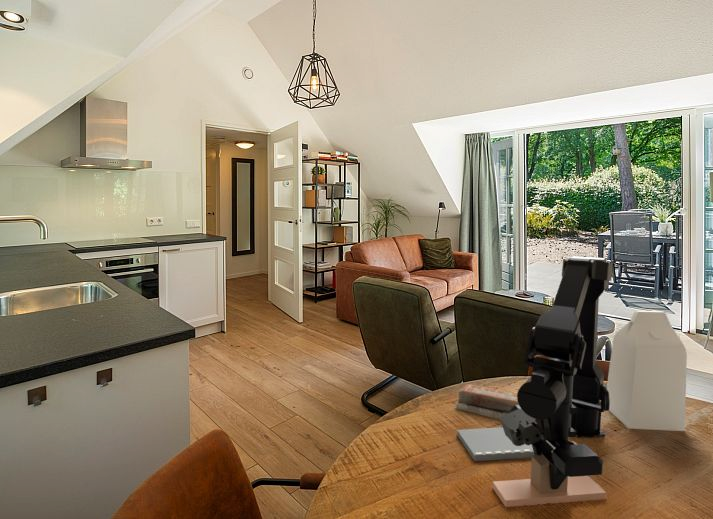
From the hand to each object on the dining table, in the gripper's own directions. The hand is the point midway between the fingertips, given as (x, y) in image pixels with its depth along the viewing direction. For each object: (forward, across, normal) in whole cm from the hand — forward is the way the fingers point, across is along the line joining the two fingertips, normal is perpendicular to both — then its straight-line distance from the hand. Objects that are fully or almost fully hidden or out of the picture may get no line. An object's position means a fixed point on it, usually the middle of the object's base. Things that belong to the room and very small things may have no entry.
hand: (548, 482), depth 73 cm
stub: (+2, 0, 0) cm, 2 cm away
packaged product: (+3, -32, +5) cm, 32 cm away
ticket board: (+2, -16, 0) cm, 16 cm away
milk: (+2, -24, +38) cm, 45 cm away
